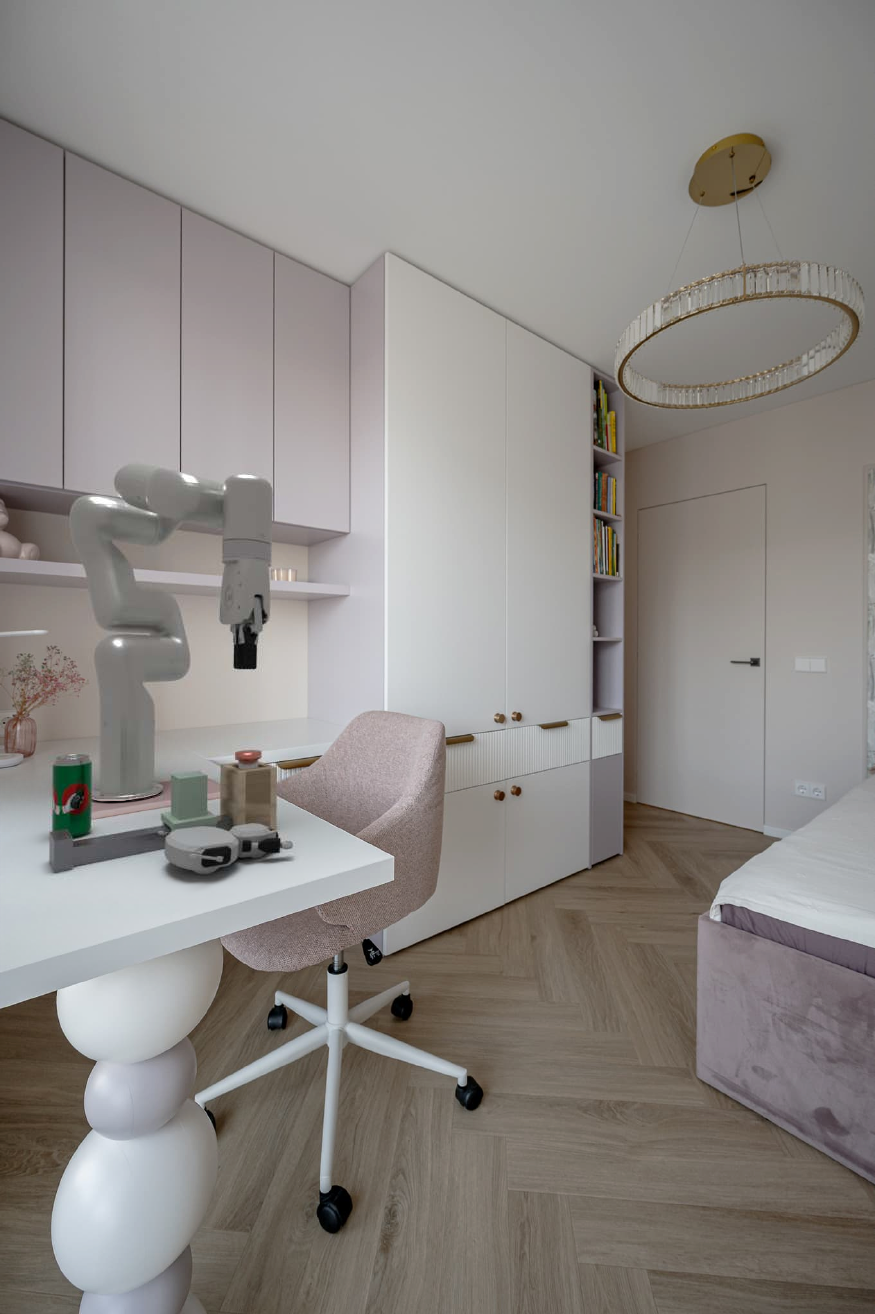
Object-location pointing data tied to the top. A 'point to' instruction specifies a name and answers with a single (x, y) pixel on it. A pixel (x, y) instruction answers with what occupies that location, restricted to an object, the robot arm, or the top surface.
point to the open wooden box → (249, 794)
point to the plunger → (248, 758)
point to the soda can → (72, 794)
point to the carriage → (189, 802)
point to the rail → (110, 845)
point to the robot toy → (220, 845)
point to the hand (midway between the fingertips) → (245, 668)
